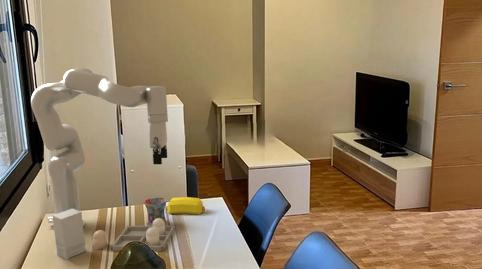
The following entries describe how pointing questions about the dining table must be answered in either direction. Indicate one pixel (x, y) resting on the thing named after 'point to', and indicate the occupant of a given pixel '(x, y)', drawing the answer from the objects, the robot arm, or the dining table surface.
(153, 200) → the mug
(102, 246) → the egg
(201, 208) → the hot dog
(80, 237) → the skincare box
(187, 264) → the dining table surface
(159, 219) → the egg
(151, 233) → the far egg
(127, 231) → the carton
